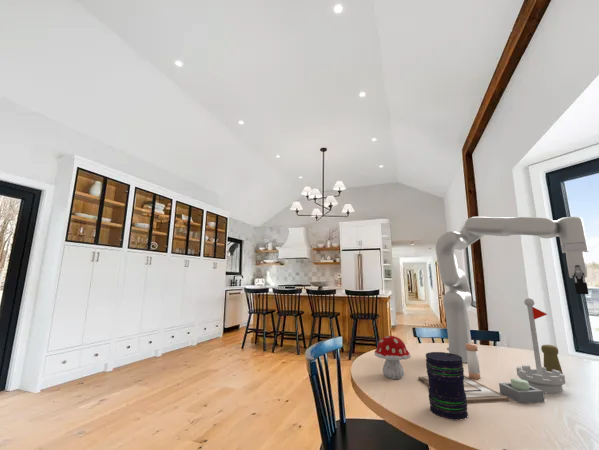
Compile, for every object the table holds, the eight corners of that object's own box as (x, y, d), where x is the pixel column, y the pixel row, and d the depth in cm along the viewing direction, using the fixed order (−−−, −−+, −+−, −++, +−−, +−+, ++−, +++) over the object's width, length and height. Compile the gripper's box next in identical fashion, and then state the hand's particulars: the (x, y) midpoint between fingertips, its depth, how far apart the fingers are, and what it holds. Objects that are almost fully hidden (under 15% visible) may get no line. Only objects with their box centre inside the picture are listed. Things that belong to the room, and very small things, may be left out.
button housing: (500, 392, 96) (499, 383, 97) (522, 391, 97) (521, 382, 97) (520, 403, 88) (519, 392, 89) (544, 401, 89) (543, 391, 90)
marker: (466, 376, 113) (462, 343, 115) (476, 375, 113) (472, 343, 115) (473, 379, 109) (469, 345, 111) (483, 379, 109) (479, 345, 111)
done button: (508, 390, 95) (507, 378, 95) (521, 390, 95) (519, 378, 96) (520, 396, 90) (518, 383, 91) (534, 395, 91) (532, 383, 91)
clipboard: (417, 379, 110) (417, 375, 110) (463, 377, 112) (462, 373, 112) (453, 403, 88) (452, 398, 88) (509, 400, 90) (508, 395, 90)
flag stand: (510, 384, 104) (498, 297, 110) (532, 378, 109) (520, 296, 115) (553, 397, 92) (538, 300, 98) (575, 390, 97) (560, 298, 103)
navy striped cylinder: (451, 423, 76) (445, 362, 79) (422, 408, 85) (417, 354, 88) (476, 415, 80) (470, 358, 83) (446, 402, 89) (441, 350, 92)
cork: (567, 378, 110) (562, 347, 112) (549, 377, 111) (544, 346, 113) (557, 373, 115) (552, 343, 117) (540, 372, 117) (535, 343, 119)
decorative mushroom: (380, 369, 122) (378, 331, 125) (415, 374, 115) (412, 334, 118) (370, 379, 110) (368, 337, 113) (409, 385, 104) (406, 340, 106)
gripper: (562, 250, 122) (570, 292, 119) (560, 247, 110) (568, 294, 107) (587, 249, 117) (596, 293, 114) (587, 246, 105) (597, 295, 102)
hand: (582, 293), depth 110 cm, fingers open, 9 cm apart
